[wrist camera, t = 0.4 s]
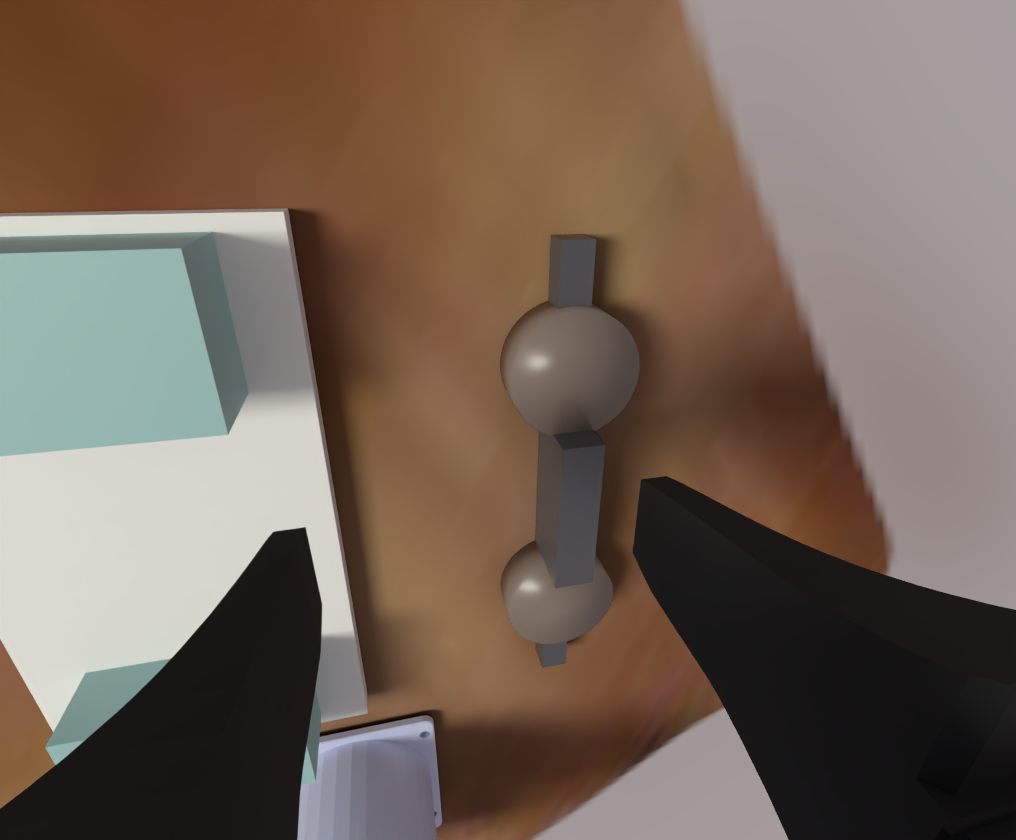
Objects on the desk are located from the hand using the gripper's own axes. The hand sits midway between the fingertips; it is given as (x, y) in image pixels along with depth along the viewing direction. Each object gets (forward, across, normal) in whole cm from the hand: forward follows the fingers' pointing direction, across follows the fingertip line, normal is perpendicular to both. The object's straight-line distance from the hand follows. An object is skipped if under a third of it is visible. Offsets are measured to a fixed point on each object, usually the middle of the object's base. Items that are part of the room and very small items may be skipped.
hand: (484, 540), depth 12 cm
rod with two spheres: (+10, -5, +5) cm, 12 cm away
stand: (+10, +10, +5) cm, 15 cm away
